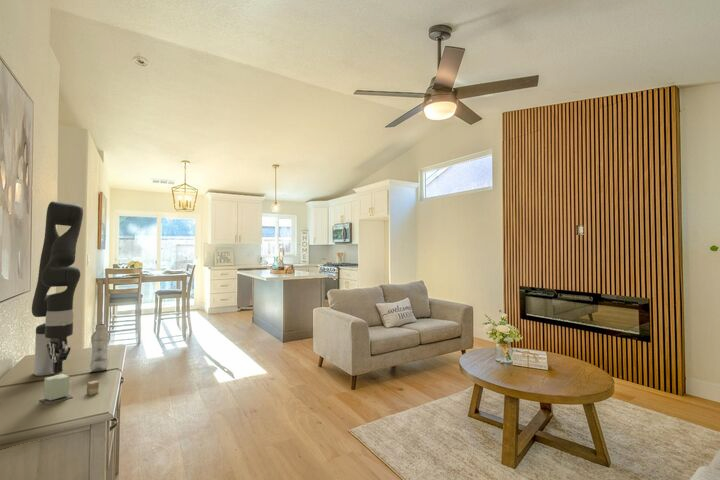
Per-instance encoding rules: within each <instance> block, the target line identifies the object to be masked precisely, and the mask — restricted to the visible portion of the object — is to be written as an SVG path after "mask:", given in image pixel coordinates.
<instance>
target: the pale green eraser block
mask: <svg viewBox="0 0 720 480" xmlns="http://www.w3.org/2000/svg"><path fill="white" fill-rule="evenodd" d="M69 391H70V376H69V375H67V374H64V373H61V374H60V373H59V374H57V375H52V376H47V377H44V385H43V398H46V399H48V400H53V399H57V398H60V397H64V396H67V395H70V392H69Z"/></svg>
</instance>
